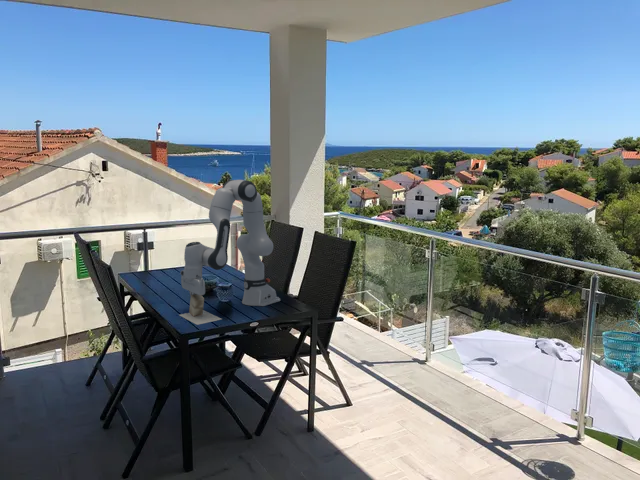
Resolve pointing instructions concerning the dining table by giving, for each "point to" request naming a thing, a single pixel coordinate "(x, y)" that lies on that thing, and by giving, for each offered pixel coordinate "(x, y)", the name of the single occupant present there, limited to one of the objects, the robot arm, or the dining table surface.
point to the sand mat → (200, 318)
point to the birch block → (196, 305)
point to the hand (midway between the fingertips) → (193, 300)
